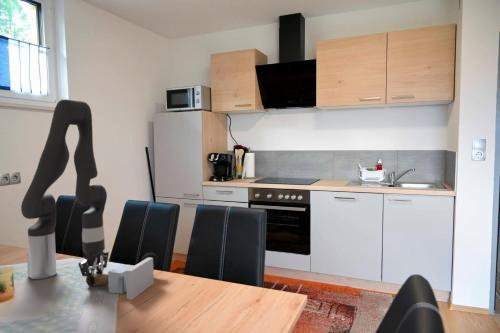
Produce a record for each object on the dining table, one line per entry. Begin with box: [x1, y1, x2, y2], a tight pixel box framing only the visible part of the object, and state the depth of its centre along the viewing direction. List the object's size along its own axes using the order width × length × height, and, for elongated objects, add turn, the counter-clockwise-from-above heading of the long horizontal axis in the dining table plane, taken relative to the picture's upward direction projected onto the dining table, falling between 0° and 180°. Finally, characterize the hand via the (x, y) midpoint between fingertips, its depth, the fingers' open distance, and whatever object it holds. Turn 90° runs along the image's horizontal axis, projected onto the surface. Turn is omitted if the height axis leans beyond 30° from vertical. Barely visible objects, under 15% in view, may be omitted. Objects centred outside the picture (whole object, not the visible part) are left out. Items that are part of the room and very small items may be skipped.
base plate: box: [126, 257, 155, 301], centre depth 121 cm, size 2×14×10 cm, turn 166°
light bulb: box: [141, 252, 158, 271], centre depth 134 cm, size 6×6×10 cm
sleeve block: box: [107, 264, 136, 295], centre depth 123 cm, size 6×8×8 cm
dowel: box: [85, 272, 109, 287], centre depth 125 cm, size 11×4×4 cm, turn 76°
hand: (95, 283), depth 126 cm, fingers closed on dowel, 4 cm apart
